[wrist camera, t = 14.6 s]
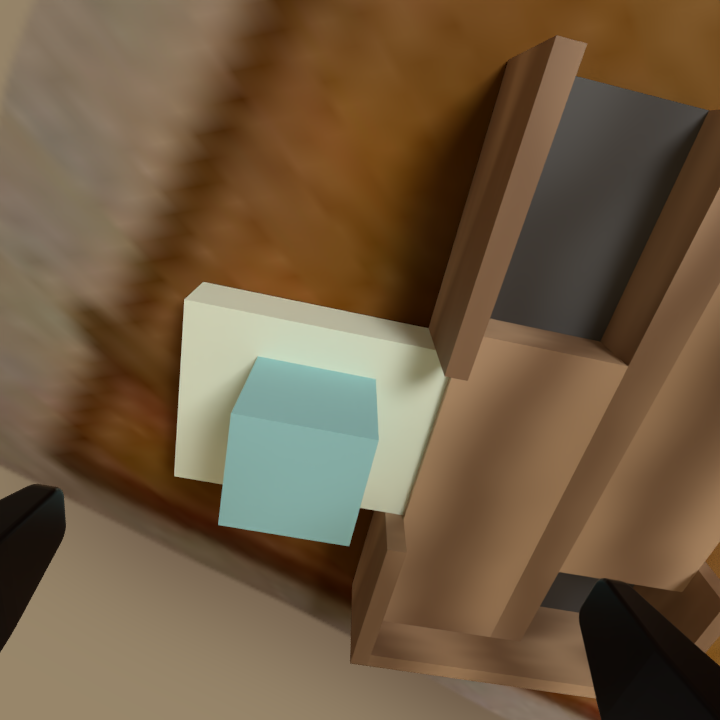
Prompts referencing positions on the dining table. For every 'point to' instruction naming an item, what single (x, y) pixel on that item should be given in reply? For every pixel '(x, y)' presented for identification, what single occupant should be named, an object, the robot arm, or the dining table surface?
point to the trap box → (563, 392)
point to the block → (299, 452)
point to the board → (311, 348)
